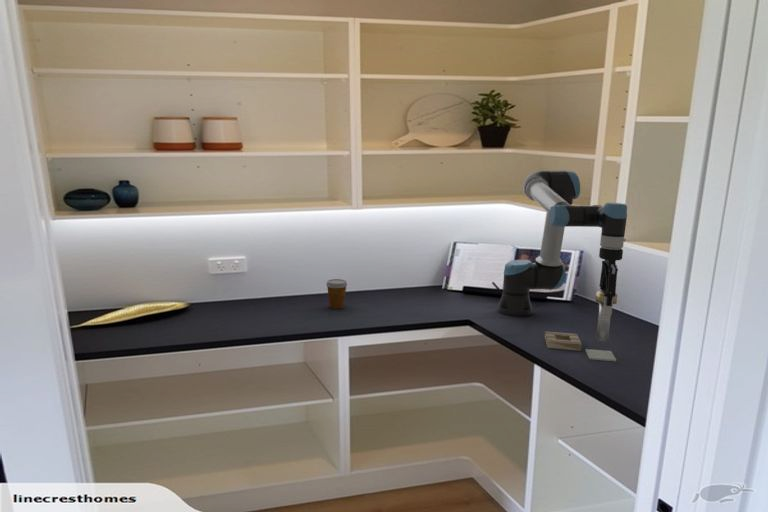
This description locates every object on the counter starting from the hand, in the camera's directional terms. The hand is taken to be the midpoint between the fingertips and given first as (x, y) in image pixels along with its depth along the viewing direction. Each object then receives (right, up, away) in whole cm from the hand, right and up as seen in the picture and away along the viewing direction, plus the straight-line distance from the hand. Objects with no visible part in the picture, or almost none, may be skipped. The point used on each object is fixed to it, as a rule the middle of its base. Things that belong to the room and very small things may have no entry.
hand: (605, 311), depth 199 cm
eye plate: (-10, -14, +15) cm, 23 cm away
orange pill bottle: (-100, -4, +57) cm, 115 cm away
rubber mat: (0, -16, +3) cm, 17 cm away
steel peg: (0, -10, +2) cm, 11 cm away
